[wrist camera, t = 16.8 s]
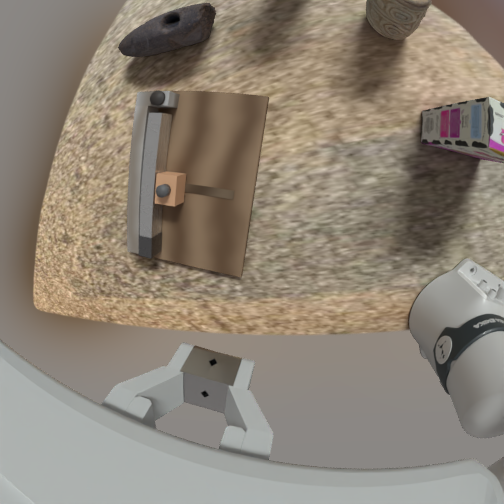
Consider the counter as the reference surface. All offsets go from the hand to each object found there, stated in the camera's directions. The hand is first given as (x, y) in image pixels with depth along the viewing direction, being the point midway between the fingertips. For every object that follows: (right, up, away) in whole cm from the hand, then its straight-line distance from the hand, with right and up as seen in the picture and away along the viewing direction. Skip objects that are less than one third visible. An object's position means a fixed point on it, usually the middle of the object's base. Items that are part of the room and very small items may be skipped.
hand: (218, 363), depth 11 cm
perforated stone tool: (-10, +35, +21) cm, 42 cm away
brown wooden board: (-7, +14, +28) cm, 32 cm away
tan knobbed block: (-9, +13, +27) cm, 32 cm away
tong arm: (-12, +14, +27) cm, 33 cm away
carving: (+19, +36, +15) cm, 43 cm away
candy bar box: (+29, +20, +18) cm, 40 cm away
